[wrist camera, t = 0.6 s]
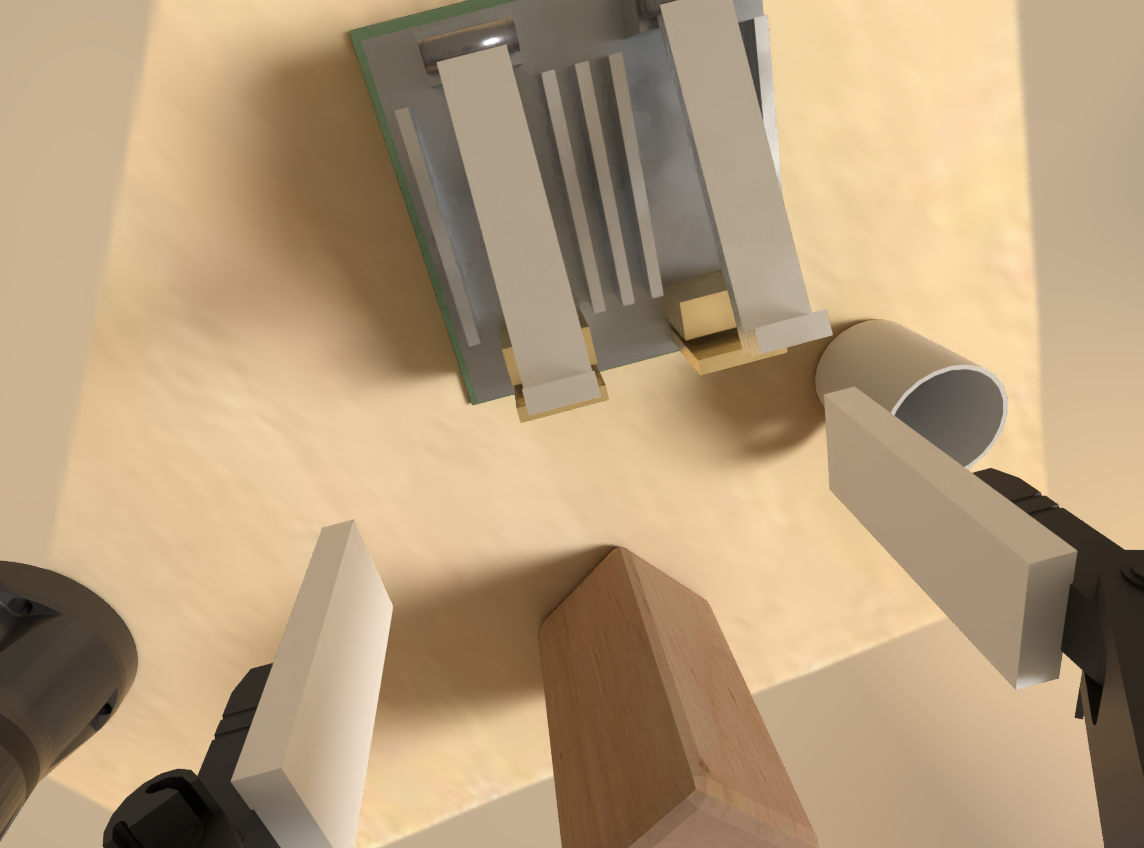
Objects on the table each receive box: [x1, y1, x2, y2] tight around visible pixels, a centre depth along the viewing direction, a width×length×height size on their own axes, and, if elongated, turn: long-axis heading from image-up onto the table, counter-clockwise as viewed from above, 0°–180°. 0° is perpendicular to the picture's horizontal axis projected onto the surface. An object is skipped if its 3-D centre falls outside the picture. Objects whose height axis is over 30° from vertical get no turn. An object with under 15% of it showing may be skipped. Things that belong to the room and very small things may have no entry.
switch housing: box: [349, 0, 788, 423], centre depth 34 cm, size 20×21×10 cm
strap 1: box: [418, 17, 601, 415], centre depth 26 cm, size 4×15×2 cm, turn 13°
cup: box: [815, 320, 1008, 469], centre depth 42 cm, size 7×10×9 cm
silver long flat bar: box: [639, 0, 833, 357], centre depth 26 cm, size 4×15×2 cm, turn 13°
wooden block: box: [538, 547, 818, 848], centre depth 43 cm, size 10×10×20 cm
